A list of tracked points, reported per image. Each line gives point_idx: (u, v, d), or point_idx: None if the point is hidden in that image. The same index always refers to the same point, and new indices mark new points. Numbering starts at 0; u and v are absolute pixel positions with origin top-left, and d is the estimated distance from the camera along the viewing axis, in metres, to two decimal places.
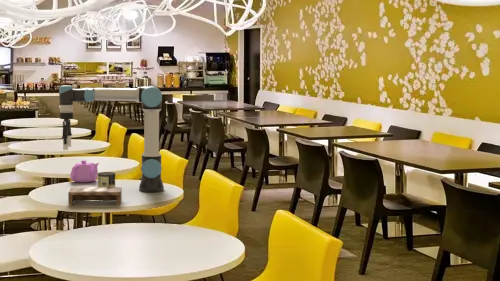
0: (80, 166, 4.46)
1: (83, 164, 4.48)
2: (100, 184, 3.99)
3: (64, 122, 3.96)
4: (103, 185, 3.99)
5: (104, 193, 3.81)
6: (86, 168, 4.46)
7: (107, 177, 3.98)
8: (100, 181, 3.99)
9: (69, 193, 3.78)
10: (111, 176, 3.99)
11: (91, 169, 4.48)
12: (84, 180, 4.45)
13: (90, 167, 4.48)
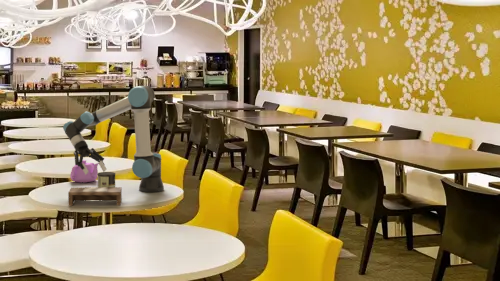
0: None
1: None
2: (100, 184, 3.99)
3: (74, 152, 4.08)
4: (103, 185, 3.99)
5: (104, 193, 3.81)
6: None
7: (107, 177, 3.98)
8: (100, 181, 3.99)
9: (69, 193, 3.78)
10: (111, 176, 3.99)
11: (91, 169, 4.48)
12: (84, 180, 4.45)
13: (90, 167, 4.48)
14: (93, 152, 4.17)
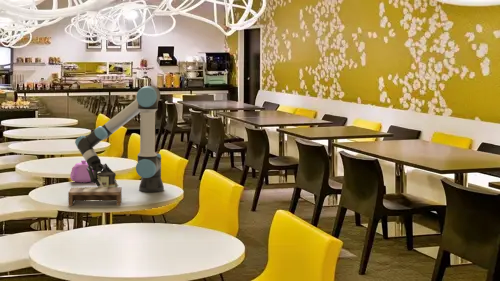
0: (80, 166, 4.46)
1: (83, 164, 4.48)
2: None
3: (87, 168, 4.02)
4: (103, 185, 3.99)
5: (104, 193, 3.81)
6: (86, 168, 4.46)
7: (107, 177, 3.98)
8: (100, 181, 3.99)
9: (69, 193, 3.78)
10: (111, 176, 3.99)
11: None
12: (84, 180, 4.45)
13: None
14: (106, 167, 4.11)
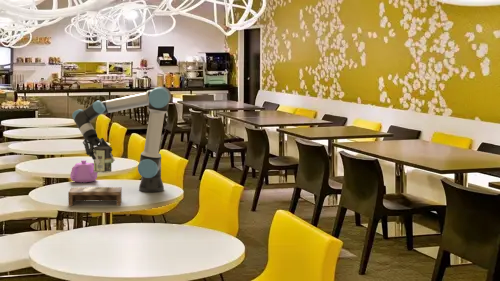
0: (80, 166, 4.46)
1: (83, 164, 4.48)
2: None
3: (83, 142, 3.98)
4: (99, 159, 3.94)
5: (104, 193, 3.81)
6: (86, 168, 4.46)
7: (103, 151, 3.94)
8: (96, 155, 3.95)
9: (69, 193, 3.78)
10: (107, 150, 3.95)
11: (91, 169, 4.48)
12: (84, 180, 4.45)
13: (90, 167, 4.48)
14: (102, 142, 4.06)
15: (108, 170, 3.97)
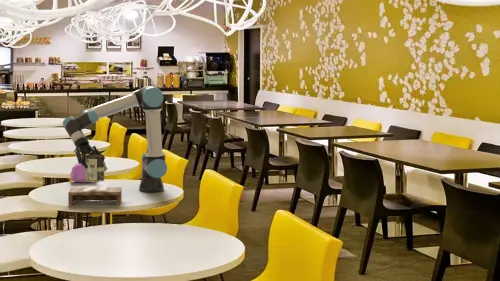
0: (80, 166, 4.46)
1: None
2: None
3: (75, 150, 3.84)
4: (91, 168, 3.81)
5: (104, 193, 3.81)
6: None
7: (95, 159, 3.80)
8: (88, 163, 3.81)
9: (69, 193, 3.78)
10: (100, 158, 3.81)
11: None
12: (84, 180, 4.45)
13: None
14: (94, 150, 3.93)
15: (101, 179, 3.83)
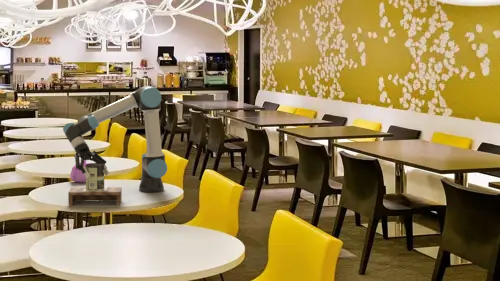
0: None
1: None
2: None
3: (75, 155, 3.85)
4: (91, 176, 3.81)
5: (104, 193, 3.81)
6: None
7: (95, 168, 3.81)
8: (88, 172, 3.82)
9: (69, 193, 3.78)
10: (100, 167, 3.82)
11: None
12: (84, 180, 4.45)
13: None
14: (95, 155, 3.94)
15: (101, 188, 3.84)
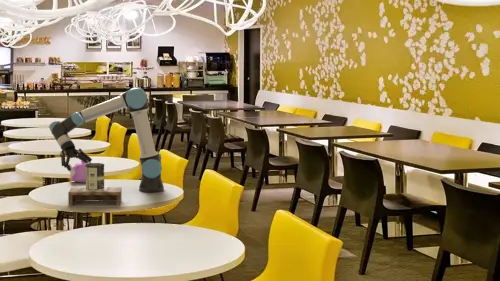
0: (80, 166, 4.46)
1: (83, 164, 4.48)
2: (88, 175, 3.82)
3: (60, 153, 3.92)
4: (91, 176, 3.81)
5: (104, 193, 3.81)
6: None
7: (95, 168, 3.81)
8: (88, 172, 3.82)
9: (69, 193, 3.78)
10: (100, 167, 3.82)
11: None
12: (84, 180, 4.45)
13: None
14: (80, 153, 4.01)
15: (101, 188, 3.84)
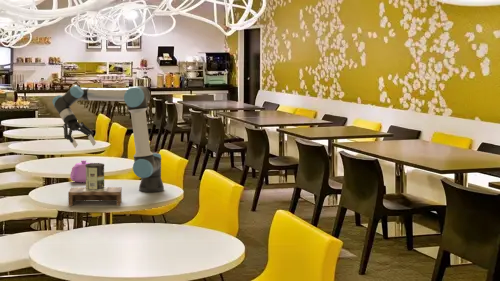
0: (80, 166, 4.46)
1: (83, 164, 4.48)
2: (88, 175, 3.82)
3: (63, 126, 4.05)
4: (91, 177, 3.81)
5: (104, 193, 3.81)
6: None
7: (95, 168, 3.81)
8: (88, 172, 3.82)
9: (69, 193, 3.78)
10: (100, 167, 3.82)
11: None
12: (84, 180, 4.45)
13: None
14: (82, 126, 4.14)
15: (101, 188, 3.84)
